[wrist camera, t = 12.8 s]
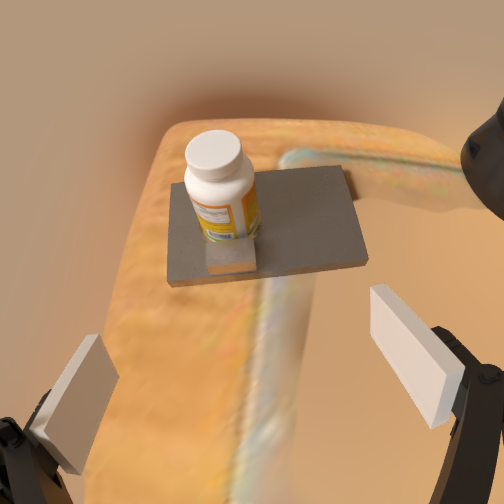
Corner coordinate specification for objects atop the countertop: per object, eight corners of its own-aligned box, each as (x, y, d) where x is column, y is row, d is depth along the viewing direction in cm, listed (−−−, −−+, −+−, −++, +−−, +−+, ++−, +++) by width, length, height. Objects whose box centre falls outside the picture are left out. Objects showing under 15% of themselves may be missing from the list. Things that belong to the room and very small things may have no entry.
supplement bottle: (242, 189, 31) (230, 113, 23) (269, 229, 29) (266, 155, 20) (193, 213, 31) (165, 142, 22) (216, 256, 28) (191, 189, 20)
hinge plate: (338, 174, 33) (343, 152, 30) (364, 265, 28) (374, 248, 25) (174, 192, 34) (166, 171, 31) (171, 287, 29) (159, 272, 26)
